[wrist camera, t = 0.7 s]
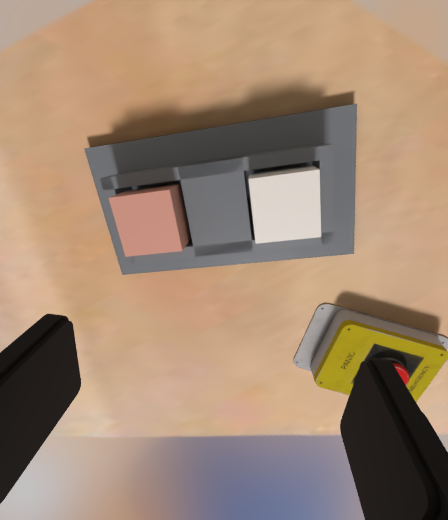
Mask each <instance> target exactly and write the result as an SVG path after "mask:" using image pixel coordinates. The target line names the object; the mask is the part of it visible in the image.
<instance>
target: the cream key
mask: <svg viewBox="0 0 448 520" xmlns="http://www.w3.org/2000/svg"><path fill="white" fill-rule="evenodd" d="M248 180H249V189H250V198H251V207H252V216H253V225H254V234H255V243H256V244H258V243H268V242H278V241H288V240H297V239H307V238H317V237H321V205H320V169H318V168H316V167H314V166H313V165H310V166H303V167H295V168H288V169H281V170H274V171H266V172H259V173H252V174H250V175H249V179H248Z"/></svg>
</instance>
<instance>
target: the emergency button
mask: <svg viewBox="0 0 448 520" xmlns="http://www.w3.org/2000/svg"><path fill="white" fill-rule="evenodd" d="M447 348H448V338H446V337H444V336H442V335H438V334H435V333H431V332H428V331H424V330H421V329H417V328H413V327H410V326H406V325H403V324H399V323H396V322H392V321H389V320H385V319H382V318H378V317H374V316H371V315H367V314H364V313H360V312H357V311H353V310H350V309H346V308H343V307H339V306H335V305H332V304H325V303H324V304H321V305H319V306H318V307H317V309H316V311H315V313H314V315H313V318H312V320H311V322H310V324H309V326H308V328H307V331H306V333H305V335H304V337H303V339H302V341H301V344H300V346H299V348H298V350H297V352H296V355H295V357H294V364H295V365H296V366H297V367H299V368H303V369H306V370H310V371H312V374H313V376H314V380H315V382H316V384H317V386H319V387H321V388H325V389H328V390H332V391H336V392H339V393H343V394H346V395H350V393H351V390H352V387H353V384H354V381H355V378H356V375H357V372H358V370H359V367H360V364H361V362H362V361H367V359H368V358H369V357H373V358H381V359H388V360H390V361H391V362H392V363H393V365H394V366H395V368H396V370H397V371H398V373H399V375H400V376H401V378H402V380H403V381H404V383H405V385H406V387H407V388H408V390H409V392H410V393H411V395H412V397H413V398H414V400H415V402H417V400H418V399H419V398H420V396H421V395H422V394H423V392H424V391H425V389H426V388H427V387H428V385H429V384H430V383H431V381H432V380H433V379H434V377H435V376H436V375H437V373H438V372H439V370H440V369H441V368H442V366H443V365H444V364H445V362H446V361H447V360H448V352H447V350H446V349H447Z"/></svg>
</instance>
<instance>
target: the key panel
mask: <svg viewBox="0 0 448 520" xmlns="http://www.w3.org/2000/svg"><path fill="white" fill-rule="evenodd" d="M356 122H357V104H352V105H346V106H340V107H333V108H327V109H321V110H315V111H309V112H303V113H297V114H291V115H285V116H279V117H273V118H267V119H261V120H255V121H249V122H243V123H237V124H231V125H225V126H218V127H212V128H206V129H200V130H194V131H188V132H182V133H176V134H170V135H164V136H158V137H152V138H146V139H140V140H134V141H128V142H122V143H116V144H109V145H103V146H97V147H91V148H85V153H86V156H87V159H88V162H89V166H90V169H91V172H92V176H93V179H94V182H95V186H96V189H97V192H98V196H99V199H100V202H101V206H102V209H103V212H104V215H105V219H106V222H107V225H108V229H109V232H110V235H111V239H112V242H113V245H114V249H115V252H116V255H117V259H118V262H119V265H120V268H121V272H122V275H125V274H136V273H147V272H158V271H169V270H180V269H191V268H202V267H213V266H224V265H235V264H246V263H257V262H268V261H279V260H290V259H301V258H312V257H323V256H334V255H345V254H354V224H355V173H356ZM310 165H313V166H314V167H316V168H318V169H320V205H321V237H317V238H307V239H297V240H288V241H278V242H268V243H258V244H256V243H255V234H254V225H253V216H252V207H251V198H250V189H249V180H248V179H249V175H250V174H252V173H259V172H266V171H274V170H281V169H288V168H295V167H303V166H310ZM179 183H180V187H181V192H182V197H183V202H184V207H185V212H186V217H187V223H188V228H189V233H190V238H191V239H190V240H189V242H188V243H187V245H186V246H185V248H184V249H183V251H178V252H168V253H158V254H148V255H138V256H128V257H125V253H124V250H123V246H122V243H121V239H120V236H119V232H118V229H117V226H116V222H115V219H114V215H113V212H112V208H111V205H110V201H109V198H110V197H112V196H114V195H117V194H119V193H122V192H124V191H128V190H136V189H143V188H150V187H157V186H165V185H172V184H179Z"/></svg>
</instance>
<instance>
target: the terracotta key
mask: <svg viewBox="0 0 448 520" xmlns="http://www.w3.org/2000/svg"><path fill="white" fill-rule="evenodd" d="M109 201H110V205H111V208H112V212H113V215H114V219H115V222H116V226H117V229H118V232H119V236H120V239H121V243H122V246H123V250H124V253H125V257H128V256H138V255H148V254H158V253H168V252H178V251H183V249H184V248H185V246H186V245H187V243H188V242H189V240H190V239H191V238H190V233H189V228H188V223H187V217H186V212H185V207H184V202H183V197H182V192H181V187H180V183H179V184H172V185H165V186H157V187H150V188H143V189H136V190H128V191H124V192H122V193H119V194H117V195H114V196H112V197H110V198H109Z"/></svg>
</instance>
